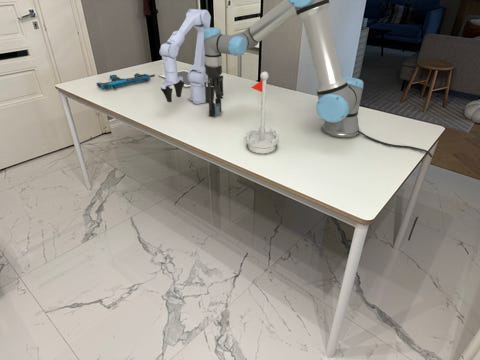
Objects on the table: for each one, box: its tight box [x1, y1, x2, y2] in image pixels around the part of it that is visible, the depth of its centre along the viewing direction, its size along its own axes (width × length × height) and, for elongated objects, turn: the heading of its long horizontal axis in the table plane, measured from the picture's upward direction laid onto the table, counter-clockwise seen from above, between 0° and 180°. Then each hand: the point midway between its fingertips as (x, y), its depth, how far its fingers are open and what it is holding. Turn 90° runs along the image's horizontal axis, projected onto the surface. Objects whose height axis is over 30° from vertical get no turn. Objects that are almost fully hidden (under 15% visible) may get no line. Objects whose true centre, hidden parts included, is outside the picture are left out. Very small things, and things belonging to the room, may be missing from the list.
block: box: [214, 102, 221, 117], centre depth 165 cm, size 4×4×5 cm
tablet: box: [158, 69, 191, 88], centre depth 216 cm, size 32×20×1 cm, turn 41°
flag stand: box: [245, 71, 280, 154], centre depth 128 cm, size 13×13×30 cm
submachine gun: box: [95, 72, 156, 91], centre depth 209 cm, size 34×4×25 cm
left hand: (174, 99), depth 165 cm, fingers open, 7 cm apart
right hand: (215, 113), depth 166 cm, fingers closed on block, 5 cm apart
